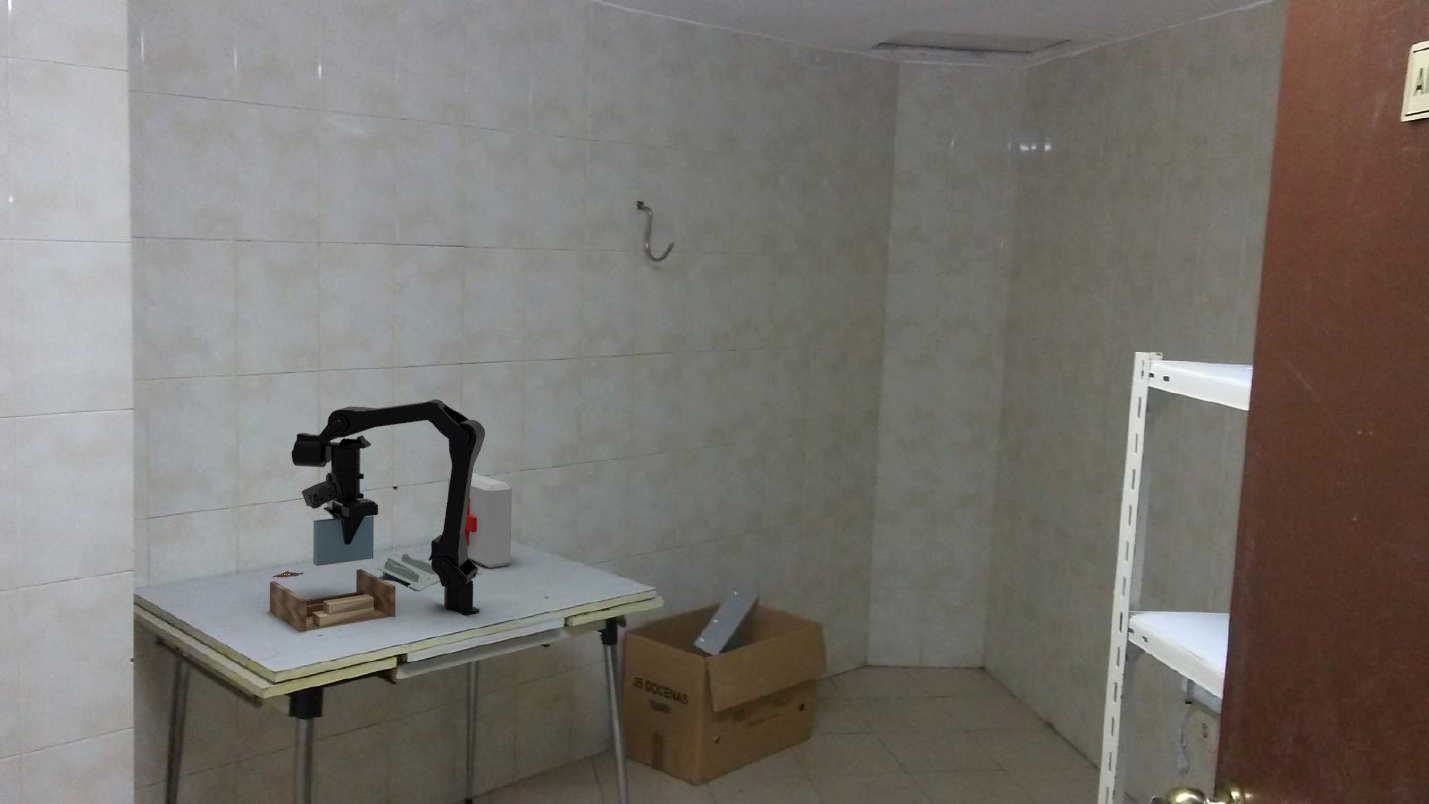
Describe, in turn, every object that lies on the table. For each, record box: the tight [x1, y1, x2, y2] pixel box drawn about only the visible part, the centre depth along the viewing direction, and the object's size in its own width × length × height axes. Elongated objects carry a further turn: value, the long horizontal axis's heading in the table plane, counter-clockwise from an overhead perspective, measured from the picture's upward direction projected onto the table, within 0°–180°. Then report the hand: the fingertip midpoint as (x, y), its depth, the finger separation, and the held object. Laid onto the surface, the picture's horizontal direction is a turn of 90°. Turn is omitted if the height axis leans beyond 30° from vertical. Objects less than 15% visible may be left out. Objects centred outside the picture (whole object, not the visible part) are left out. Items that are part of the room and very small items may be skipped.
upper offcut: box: [323, 594, 374, 615], centre depth 229 cm, size 3×9×2 cm, turn 131°
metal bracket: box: [376, 553, 440, 593], centre depth 264 cm, size 14×6×15 cm
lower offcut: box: [312, 608, 374, 627], centre depth 229 cm, size 4×11×2 cm, turn 131°
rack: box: [269, 568, 397, 633], centre depth 233 cm, size 16×19×7 cm
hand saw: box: [272, 570, 304, 578], centre depth 255 cm, size 24×5×1 cm, turn 162°
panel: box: [312, 515, 375, 567], centre depth 241 cm, size 2×12×9 cm, turn 131°
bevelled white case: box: [447, 472, 513, 569], centre depth 284 cm, size 21×8×20 cm, turn 40°
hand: (345, 543), depth 242 cm, fingers closed on panel, 2 cm apart
